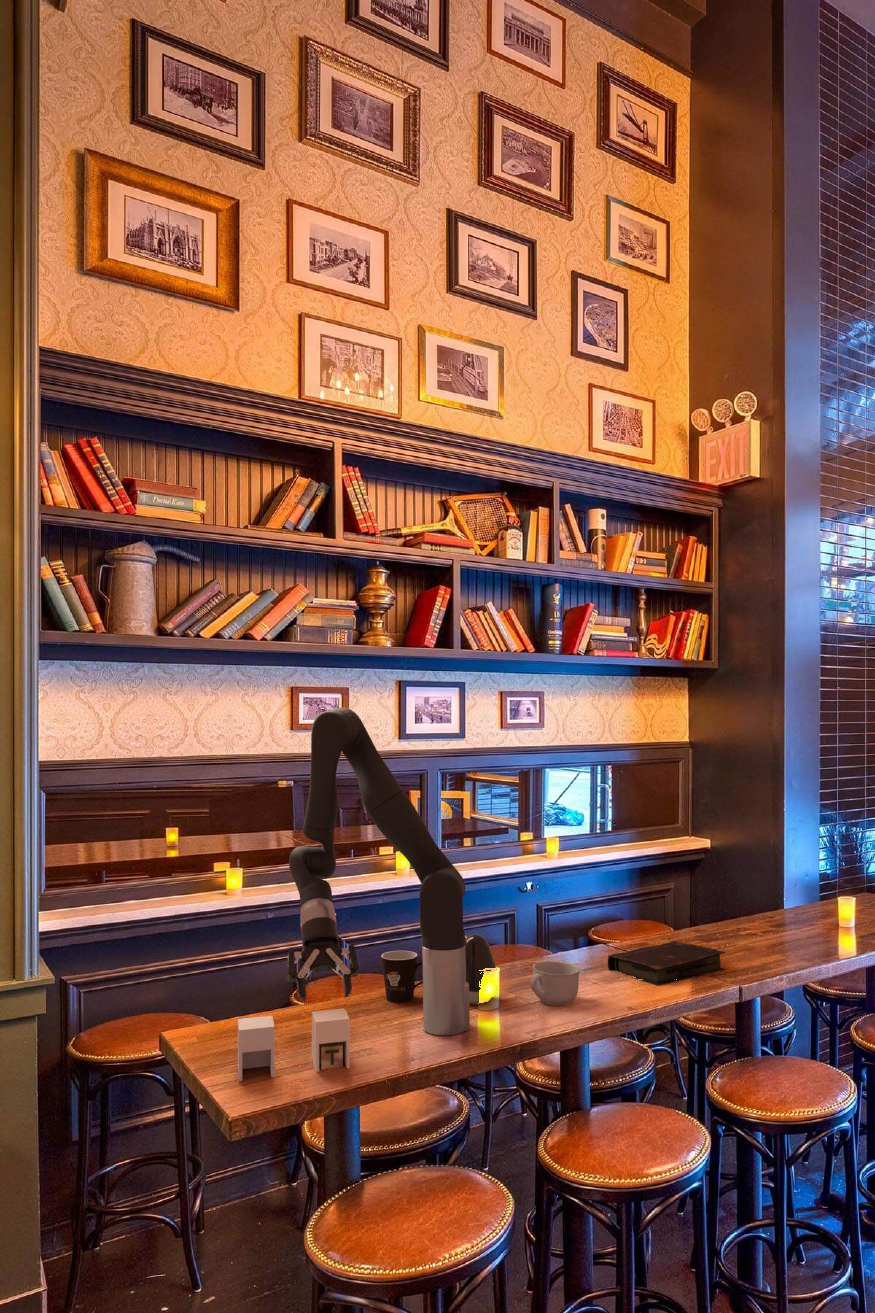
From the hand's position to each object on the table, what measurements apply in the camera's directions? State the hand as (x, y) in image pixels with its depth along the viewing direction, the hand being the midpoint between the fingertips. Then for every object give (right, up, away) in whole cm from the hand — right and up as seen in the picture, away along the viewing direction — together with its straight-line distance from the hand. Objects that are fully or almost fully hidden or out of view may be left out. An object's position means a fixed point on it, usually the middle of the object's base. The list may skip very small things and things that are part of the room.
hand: (325, 997), depth 169 cm
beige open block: (+2, -10, -7) cm, 12 cm away
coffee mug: (+14, -13, +31) cm, 37 cm away
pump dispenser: (+31, -13, +30) cm, 45 cm away
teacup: (+49, -12, +27) cm, 57 cm away
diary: (+82, -15, +52) cm, 99 cm away
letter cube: (+2, -10, -7) cm, 12 cm away
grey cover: (-12, -10, -11) cm, 19 cm away
